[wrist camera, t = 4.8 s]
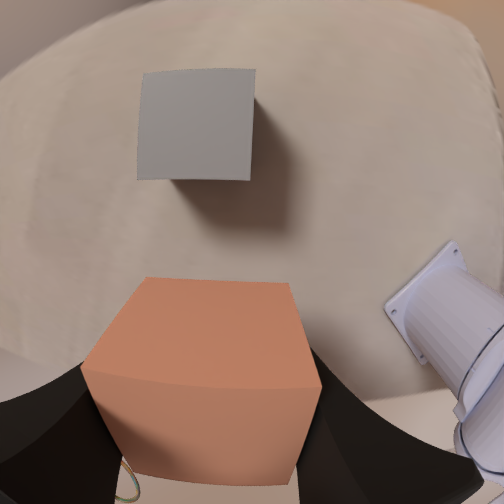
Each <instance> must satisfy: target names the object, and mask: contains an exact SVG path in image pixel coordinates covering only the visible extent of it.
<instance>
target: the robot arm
mask: <svg viewBox="0 0 504 504" xmlns="http://www.w3.org/2000/svg"><path fill="white" fill-rule="evenodd" d="M454 250H455V252H454ZM393 310H394V312H392V311H393ZM384 311H385V312H386V314H387V315H388V316H389V318H390V319H391V321H392V322H393V324H394V325H395V326H396V328H397V329H398V331H399V332H400V334H401V335H402V337H403V338H404V340H405V341H406V343H407V344H408V346H409V347H410V349H411V350H412V352H413V353H414V355H415V356H416V358H417V359H418V361H419V363H420V364H421V365H424V364H426V363H427V362H428V361H429V362H430V364H431V365H432V366H433V368H434V369H435V370H436V372H437V373H438V374H439V375H440V377H441V378H442V379H443V381H444V382H445V383H446V385H447V386H448V388H449V389H450V390H451V392H452V393H453V394H454V396H455V397H456V398H457V400H458V403H457V405H456V407H455V408H454V409H453V412H454V414H455V415H456V416H457V418H458V420H459V422H458V423H457V425H456V427H455V430H454V445H455V449H456V453H457V454H454V453H451V452H448V451H445V450H442V449H439V448H437V447H434V446H432V445H430V444H427V443H425V442H423V441H421V440H419V439H417V438H415V437H413V436H411V435H409V434H407V433H406V432H404V431H402V430H401V429H399V428H397V427H396V426H394V425H392V424H391V423H389V422H388V421H386V420H385V419H383V418H382V417H381V416H379V415H378V414H377V413H375V412H374V411H373V410H371V409H370V408H369V407H367V406H366V405H365V404H364V403H363V402H361V401H360V400H359V399H358V398H357V397H356V396H355V395H354V394H353V393H352V392H350V391H349V390H348V389H347V388H346V387H345V386H344V385H343V384H342V382H341V381H340V380H339V379H338V378H337V377H336V376H335V375H334V374H333V373H332V372H331V371H330V370H329V369H328V367H327V366H326V365H325V364H324V363H323V362H322V360H321V359H320V358H319V357H318V356H317V354H316V353H315V352H314V351H313V350H312V348H311V347H310V346H309V347H310V350H311V353H312V356H313V359H314V363H315V366H316V369H317V372H318V375H319V378H320V381H321V385H322V389H321V392H320V396H319V399H318V402H317V406H316V409H315V412H314V415H313V418H312V421H311V424H310V427H309V430H308V433H307V436H306V439H305V441H304V444H303V447H302V450H301V452H300V455H299V458H298V460H297V463H296V468H297V476H298V487H299V500H300V504H461V503H462V502H464V501H465V500H466V499H468V498H469V497H470V496H472V495H473V494H474V493H475V492H476V491H478V490H479V489H480V488H481V487H482V486H483V483H484V480H488V481H492V482H495V483H497V484H499V485H501V486H502V487H503V488H504V296H502V295H501V294H499V293H498V292H497V291H495V290H494V289H492V288H491V287H489V286H488V285H486V284H485V283H483V282H482V281H480V280H479V279H477V278H475V277H474V276H472V275H471V274H469V273H468V270H467V267H466V265H465V262H464V259H463V257H462V254H461V252H460V249H459V247H458V244H457V243H456V242H455V241H453V240H452V241H450V242H449V243H448V244H447V245H446V246H445V247H444V248H443V249H442V250H441V251H440V252H439V253H438V254H437V255H436V256H435V257H434V258H433V259H432V260H431V261H430V262H429V263H428V264H427V265H426V266H425V267H424V268H423V269H422V270H421V271H420V272H419V273H418V274H417V275H416V276H415V277H414V278H413V279H412V280H411V281H410V282H409V283H408V284H407V285H406V286H405V287H403V288H402V289H401V290H400V291H399V292H398V293H397V294H396V295H395V296H394V297H392V298H391V299H390V300H389V301H388V302H387V303H386V304H385V306H384ZM391 312H392V313H391ZM83 362H84V361H83ZM83 362H82V363H80V364H79V365H77V366H76V367H74V368H73V369H71V370H69V371H68V372H66V373H65V374H63V375H62V376H60V377H59V378H57V379H55V380H53V381H51V382H50V383H48V384H46V385H44V386H42V387H40V388H38V389H36V390H33V391H31V392H29V393H26V394H23V395H21V396H19V397H16V398H13V399H11V400H8V401H4V402H1V403H0V504H114V502H115V494H116V487H117V481H118V475H119V470H120V466H121V461H122V456H123V455H122V453H121V451H120V450H119V448H118V446H117V444H116V443H115V441H114V439H113V437H112V435H111V434H110V432H109V430H108V428H107V426H106V424H105V422H104V420H103V418H102V416H101V414H100V412H99V410H98V408H97V406H96V404H95V401H94V399H93V397H92V395H91V392H90V390H89V388H88V385H87V383H86V381H85V378H84V376H83V373H82V371H81V368H80V367H81V365H82V364H83ZM488 504H504V492H502V494H500V495H499V496H497V497H496V498H495V499H493V500H492V501H491V502H489V503H488Z"/></svg>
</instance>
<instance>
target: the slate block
mask: <svg viewBox="0 0 504 504" xmlns="http://www.w3.org/2000/svg"><path fill="white" fill-rule="evenodd" d="M255 72H256V69H232V68H214V69H187V70H173V71H162V72H153V73H145V74H143V79H142V89H141V99H140V111H139V126H138V149H137V180H156V179H218V180H249V181H250V174H251V153H252V132H253V112H254V92H255Z"/></svg>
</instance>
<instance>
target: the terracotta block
mask: <svg viewBox="0 0 504 504" xmlns="http://www.w3.org/2000/svg"><path fill="white" fill-rule="evenodd" d="M80 368H81V371H82V373H83V376H84V378H85V381H86V383H87V385H88V388H89V390H90V392H91V395H92V397H93V399H94V401H95V404H96V406H97V408H98V410H99V412H100V414H101V416H102V418H103V420H104V422H105V424H106V426H107V428H108V430H109V432H110V434H111V435H112V437H113V439H114V441H115V443H116V444H117V446H118V448H119V450H120V451H121V453H122V455H123V456H124V458H125V459H126V461H127V463H128V464H129V466H130V467H131V469H132V471H133V472H135V473H139V474H144V475H148V476H153V477H159V478H164V479H170V480H177V481H185V482H192V483H201V484H213V485H230V486H271V485H288V483H289V480H290V478H291V475H292V473H293V470H294V468H295V465H296V463H297V460H298V458H299V455H300V452H301V450H302V447H303V444H304V441H305V439H306V436H307V433H308V430H309V427H310V424H311V421H312V418H313V415H314V412H315V409H316V406H317V402H318V399H319V396H320V392H321V389H322V385H321V381H320V378H319V375H318V372H317V369H316V366H315V363H314V359H313V356H312V353H311V350H310V347H309V344H308V341H307V338H306V335H305V332H304V329H303V326H302V323H301V320H300V317H299V314H298V311H297V308H296V305H295V302H294V299H293V296H292V293H291V290H290V287H289V284H288V283H268V282H237V281H212V280H191V279H172V278H155V277H146V278H145V279H144V281H143V282H142V283H141V284H140V286H139V287H138V288H137V289H136V291H135V292H134V293H133V295H132V296H131V297H130V299H129V300H128V301H127V303H126V304H125V305H124V306H123V308H122V309H121V310H120V312H119V313H118V314H117V316H116V317H115V319H114V320H113V321H112V323H111V324H110V325H109V327H108V328H107V329H106V331H105V332H104V334H103V335H102V336H101V338H100V339H99V341H98V342H97V343H96V345H95V346H94V348H93V349H92V351H91V352H90V354H89V355H88V356H87V358H86V359H85V361H84V362H83V364H82V365H81V367H80Z"/></svg>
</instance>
